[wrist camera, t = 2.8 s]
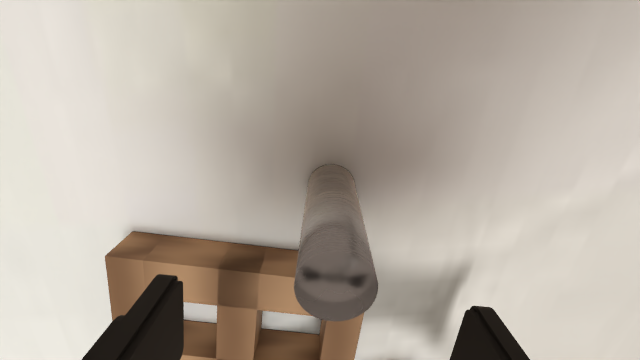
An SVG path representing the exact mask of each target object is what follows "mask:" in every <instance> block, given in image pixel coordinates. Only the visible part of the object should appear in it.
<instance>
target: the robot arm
mask: <svg viewBox="0 0 640 360" xmlns="http://www.w3.org/2000/svg"><path fill="white" fill-rule="evenodd" d="M183 349H184V315H183V282H182V281H178V277H177V276H174V275H164V274H158V275H156V276H155V278H154V279H153V280H152V281H151V283H150V284H149V285H148V287H147V288H146V289H145V290H144V292H143V293H142V294H141V296H140V297H139V298H138V299H137V301H136V302H135V303H134V305H133V306H132V307H131V308H130V310H129V311H128V312H127V314H126V315H120V316H118V317H116V318H115V319H114V320H113V322H112V323H111V324H110V325H109V327H108V328H107V329H106V330H105V331H104V333H103V334H102V335H101V336H100V338H99V339H98V340H97V341H96V343H95V344H94V345H93V346H92V348H91V349H90V350H89V351H88V353H87V354H86V355H85V356H84V357H83V359H82V360H180V359H181V357H182V353H183ZM450 360H530V359H529V358H528V356H527V355H526V354H525V352H524V351H523V349H522V348H521V347H520V345H519V344H518V343H517V341H516V340H515V338H514V337H513V336H512V334H511V333H510V332H509V330H508V329H507V327H506V326H505V325H504V323H503V322H502V320H501V319H500V318H499V316H498V315H497V314H496V312H495V311H494V310H493V309H492V308H490V307H481V306H472V307H471V308H470V310H467V311H466V312H465V314H464V317H463V321H462V324H461V327H460V330H459V333H458V336H457V339H456V342H455V345H454V348H453V351H452V354H451V357H450Z"/></svg>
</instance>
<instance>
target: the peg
mask: <svg viewBox="0 0 640 360" xmlns="http://www.w3.org/2000/svg"><path fill="white" fill-rule="evenodd" d="M377 291H378V282H377V277H376V273H375V268H374V264H373V260H372V256H371V251H370V247H369V243H368V238H367V234H366V230H365V226H364V221H363V217H362V213H361V209H360V204H359V200H358V196H357V192H356V187H355V183H354V179H353V177H352V175H351V174H350V172H349V171H348V170H346V169H345V168H344V167H342V166H339V165H335V164H328V165H324V166H321V167H319V168H318V169H316V170H315V171H314V172H313V173H312V175H311V176H310V178H309V181H308V188H307V195H306V202H305V209H304V216H303V223H302V231H301V238H300V245H299V252H298V259H297V266H296V274H295V281H294V293H295V296H296V299H297V301H298V302H299V304H300V305H301V307H302V308H303V309H304V310H305V311H306V312H308V313H309V314H311V315H312V316H314V317H316V318H319V319H322V320H326V321H345V320H349V319H353V318H355V317H357V316H359V315H361V314H362V313H364V312H365V311H366V310H368V309H369V307H370V306H371V305H372V304H373V302H374V300H375V298H376V295H377Z"/></svg>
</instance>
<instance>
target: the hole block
mask: <svg viewBox="0 0 640 360" xmlns="http://www.w3.org/2000/svg"><path fill="white" fill-rule="evenodd" d="M298 252H299V251H297V250H288V249H280V248H271V247H262V246H254V245H245V244H236V243H228V242H219V241H210V240H202V239H193V238H184V237H176V236H167V235H158V234H150V233H141V232H131V233H130V234H129V235H128V236H127V237H126V238H125V239H124V240H122V241H121V242H120V243H119V244H118V245H117V246H116V247H115V248H114V249H112V250H111V251H110V252H109V253H108V254H107V255H106V256H105V261H106V269H107V278H108V286H109V295H110V303H111V312H112V320H114V319H115V318H116V317H118V316H120V315H126V314H127V312H128V311H129V310H130V308H131V307H132V306H133V305H134V303H135V302H136V301H137V299H138V298H139V297H140V296H141V294H142V293H143V292H144V290H145V289H146V288H147V287H148V285H149V284H150V283H151V281H152V280H153V279H154V278H155V276H156V275H158V274H164V275H174V276H177V277H178V281H182V282H183V302H190V303H199V304H208V305H217V324H214V323H204V322H195V321H186V320H184V349H183V353H182V357H181V359H180V360H354V358H355V353H356V348H357V343H358V339H359V334H360V329H361V325H362V320H363V315H364V313H362V314H361V315H359V316H357V317H355V318H353V319H349V320H345V321H326V320H322V322H321V328H320V335H315V334H306V333H297V332H287V331H278V330H269V329H261V324H262V311H272V312H281V313H290V314H299V315H308V316H312V315H311V314H309V313H308V312H306V311H305V310H304V309H303V308H302V307H301V305H300V304H299V302H298V301H297V299H296V296H295V293H294V281H295V274H296V266H297V259H298Z"/></svg>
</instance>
